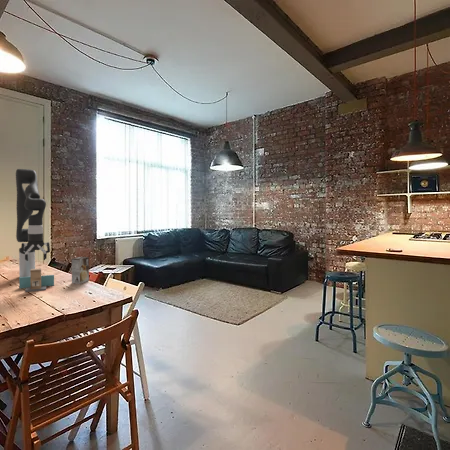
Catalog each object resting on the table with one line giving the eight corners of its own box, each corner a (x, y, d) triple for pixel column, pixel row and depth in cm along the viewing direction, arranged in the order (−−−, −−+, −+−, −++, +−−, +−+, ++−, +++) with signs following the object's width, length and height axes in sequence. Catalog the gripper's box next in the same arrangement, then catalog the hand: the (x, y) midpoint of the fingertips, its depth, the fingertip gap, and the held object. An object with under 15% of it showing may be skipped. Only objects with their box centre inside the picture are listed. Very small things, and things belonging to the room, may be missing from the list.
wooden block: (31, 287, 179) (31, 268, 178) (41, 286, 181) (41, 268, 181) (30, 289, 174) (30, 270, 174) (40, 288, 176) (40, 270, 176)
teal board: (19, 288, 180) (19, 277, 180) (54, 285, 189) (54, 274, 188) (19, 288, 179) (19, 277, 179) (54, 285, 188) (54, 275, 187)
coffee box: (80, 280, 203) (80, 256, 202) (89, 280, 202) (89, 256, 201) (71, 283, 194) (71, 258, 193) (80, 284, 193) (80, 259, 192)
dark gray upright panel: (26, 288, 179) (26, 287, 179) (46, 287, 183) (46, 285, 183) (25, 292, 172) (25, 290, 172) (45, 290, 177) (45, 288, 177)
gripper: (50, 232, 183) (50, 258, 184) (21, 232, 176) (22, 259, 177) (49, 233, 176) (49, 260, 177) (20, 233, 169) (20, 262, 170)
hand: (35, 260), depth 177 cm, fingers open, 8 cm apart
